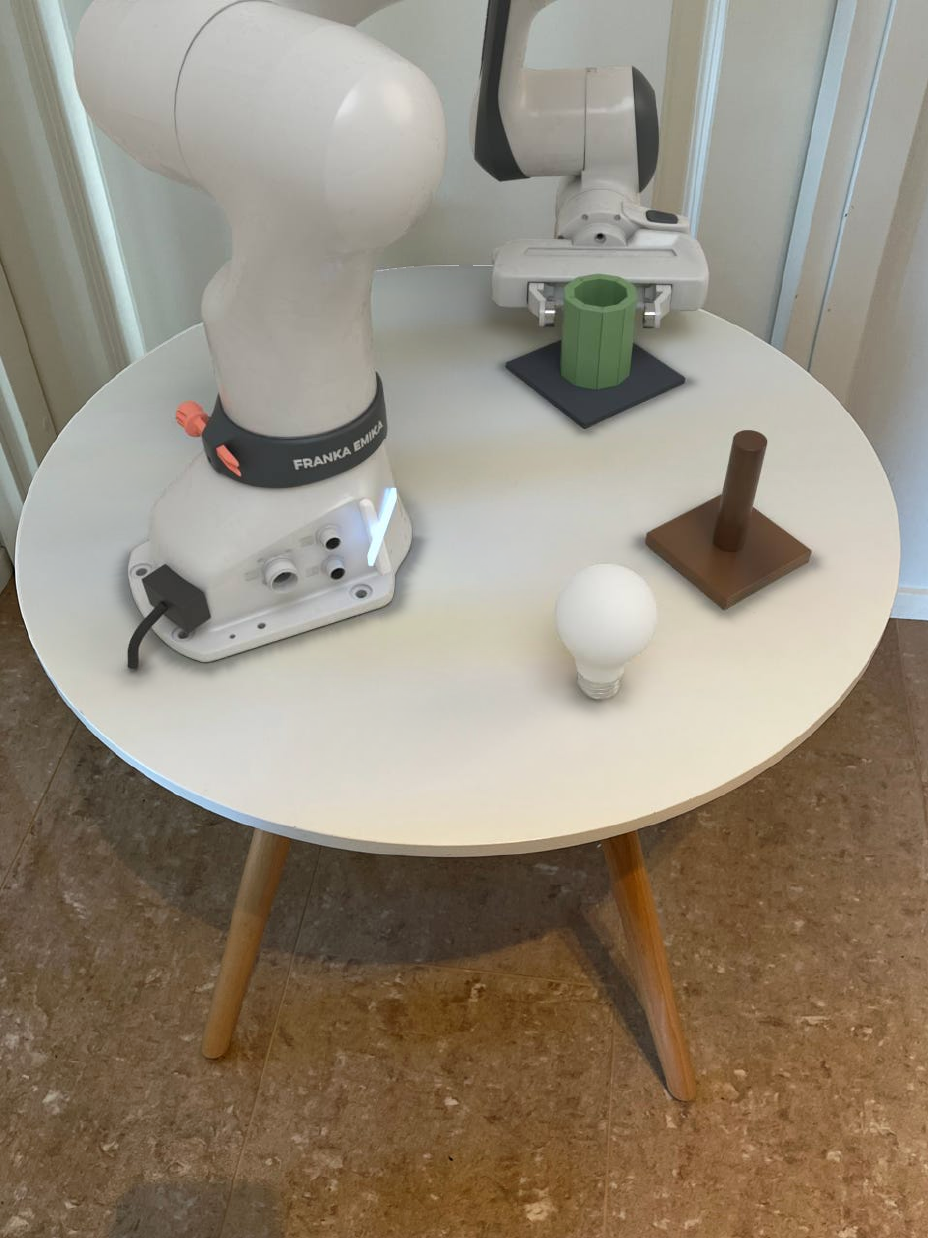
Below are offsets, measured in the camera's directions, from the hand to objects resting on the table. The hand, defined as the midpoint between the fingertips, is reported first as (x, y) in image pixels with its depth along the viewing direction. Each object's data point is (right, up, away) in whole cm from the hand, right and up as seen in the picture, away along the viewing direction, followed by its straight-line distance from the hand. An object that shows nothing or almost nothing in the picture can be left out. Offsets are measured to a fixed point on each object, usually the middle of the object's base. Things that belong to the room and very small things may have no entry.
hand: (599, 320), depth 95 cm
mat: (0, -4, +5) cm, 6 cm away
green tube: (0, -3, +4) cm, 5 cm away
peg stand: (+8, -22, -12) cm, 26 cm away
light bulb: (-3, -32, -21) cm, 39 cm away
